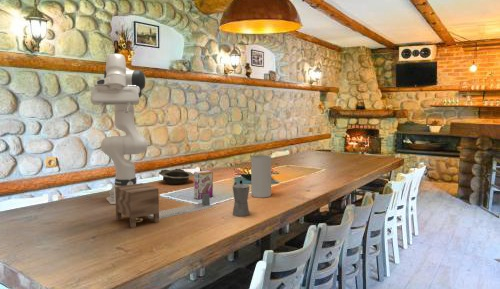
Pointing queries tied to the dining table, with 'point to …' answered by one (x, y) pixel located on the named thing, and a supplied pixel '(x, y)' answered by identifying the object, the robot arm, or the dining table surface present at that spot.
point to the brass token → (139, 219)
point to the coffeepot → (240, 199)
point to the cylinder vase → (261, 176)
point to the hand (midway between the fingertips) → (115, 112)
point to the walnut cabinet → (137, 202)
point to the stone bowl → (175, 176)
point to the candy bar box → (203, 183)
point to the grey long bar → (186, 208)
